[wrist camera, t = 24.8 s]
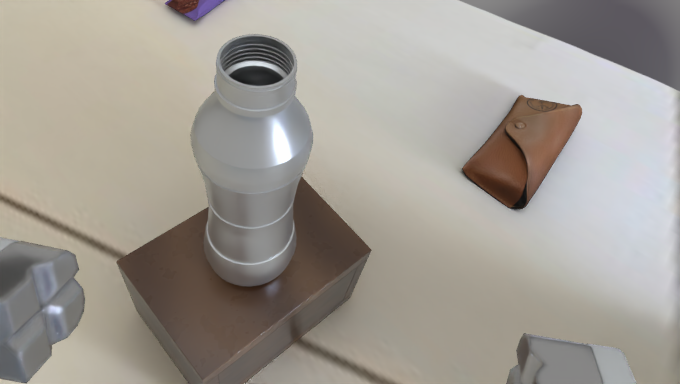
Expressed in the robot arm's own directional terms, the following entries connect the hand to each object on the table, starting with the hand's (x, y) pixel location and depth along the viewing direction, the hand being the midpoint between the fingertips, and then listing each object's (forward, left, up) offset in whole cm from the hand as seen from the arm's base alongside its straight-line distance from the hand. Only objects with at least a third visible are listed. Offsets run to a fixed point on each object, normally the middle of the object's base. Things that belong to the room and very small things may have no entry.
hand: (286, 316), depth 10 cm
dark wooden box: (-9, -12, -38) cm, 41 cm away
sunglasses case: (-47, -8, -38) cm, 61 cm away
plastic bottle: (-9, -12, -28) cm, 32 cm away
